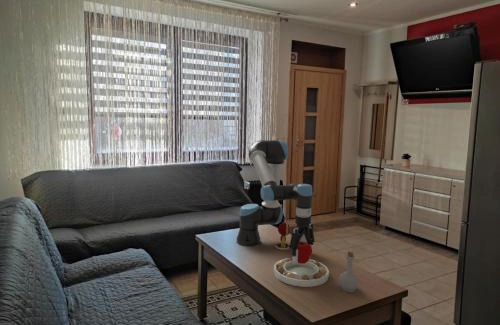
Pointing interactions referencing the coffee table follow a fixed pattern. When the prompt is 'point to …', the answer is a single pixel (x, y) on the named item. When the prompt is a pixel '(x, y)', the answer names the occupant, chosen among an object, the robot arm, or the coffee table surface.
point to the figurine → (283, 236)
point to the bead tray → (301, 273)
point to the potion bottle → (348, 276)
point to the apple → (304, 252)
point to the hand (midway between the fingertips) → (301, 259)
